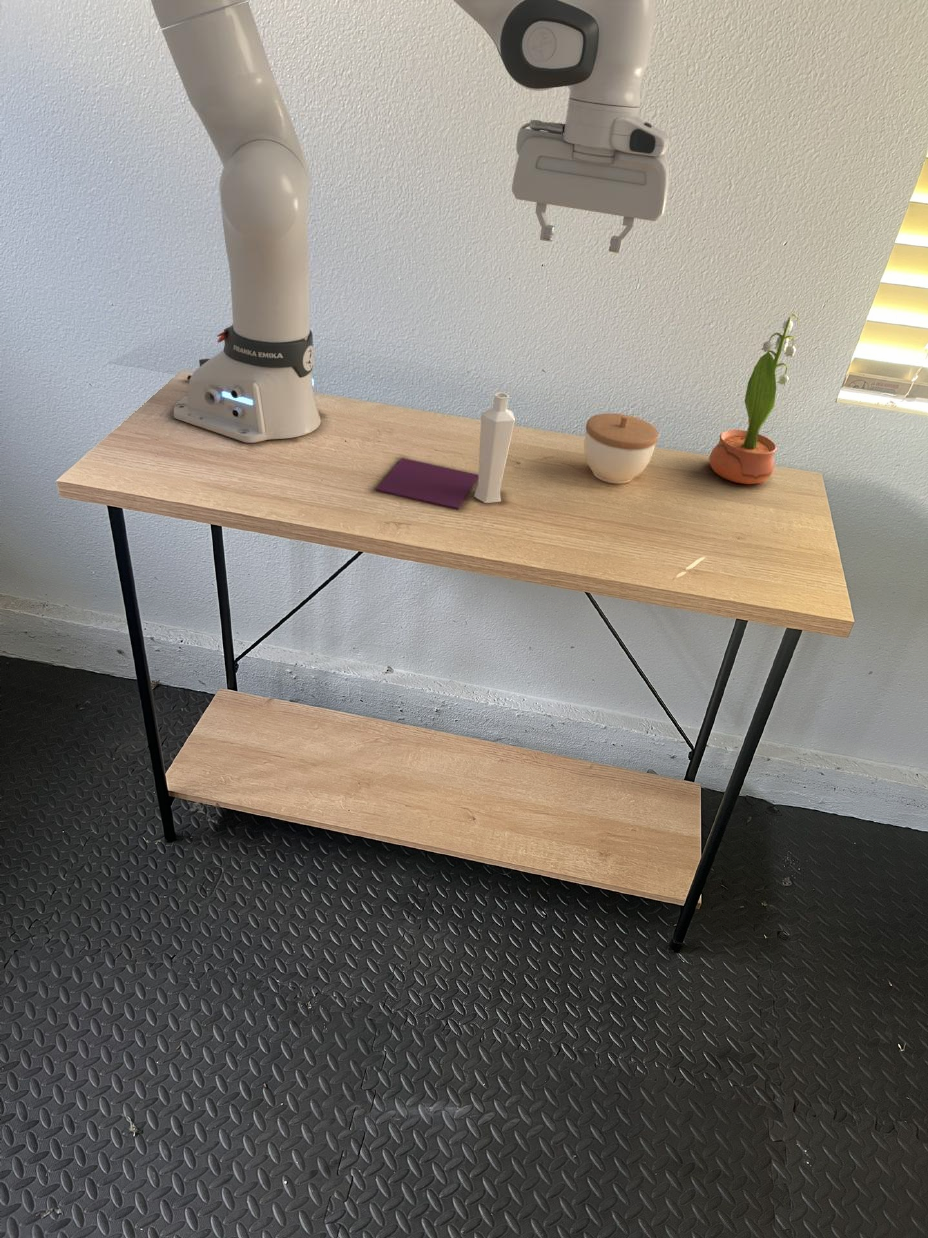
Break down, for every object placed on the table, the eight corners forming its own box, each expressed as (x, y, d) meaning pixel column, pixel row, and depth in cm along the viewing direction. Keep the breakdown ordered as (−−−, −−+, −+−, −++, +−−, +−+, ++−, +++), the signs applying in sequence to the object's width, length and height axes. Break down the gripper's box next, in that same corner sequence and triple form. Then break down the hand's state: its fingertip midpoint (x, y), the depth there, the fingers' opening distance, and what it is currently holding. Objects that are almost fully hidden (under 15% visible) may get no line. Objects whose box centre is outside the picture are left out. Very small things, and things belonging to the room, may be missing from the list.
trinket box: (646, 496, 125) (661, 437, 120) (574, 483, 127) (586, 424, 121) (647, 466, 134) (661, 409, 129) (580, 454, 135) (591, 397, 130)
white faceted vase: (494, 508, 118) (509, 405, 109) (467, 497, 119) (479, 395, 111) (510, 496, 121) (525, 395, 112) (484, 486, 123) (497, 386, 114)
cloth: (375, 490, 118) (375, 488, 118) (402, 459, 127) (402, 457, 127) (457, 509, 116) (458, 507, 116) (478, 476, 125) (479, 474, 125)
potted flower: (713, 450, 142) (758, 297, 127) (773, 466, 139) (827, 311, 125) (701, 478, 133) (749, 315, 118) (766, 495, 130) (823, 331, 115)
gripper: (514, 118, 106) (500, 237, 114) (677, 142, 102) (651, 263, 111) (525, 115, 111) (511, 229, 119) (681, 137, 107) (656, 253, 116)
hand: (580, 245), depth 115 cm, fingers open, 8 cm apart
